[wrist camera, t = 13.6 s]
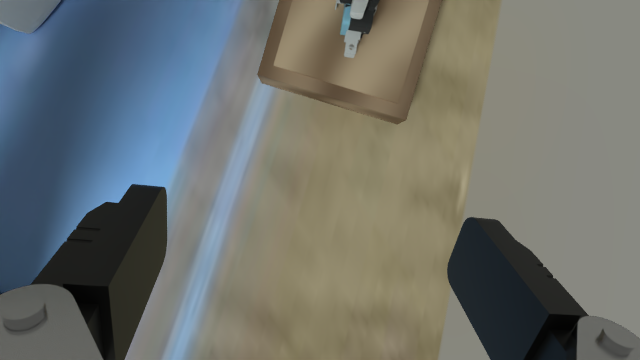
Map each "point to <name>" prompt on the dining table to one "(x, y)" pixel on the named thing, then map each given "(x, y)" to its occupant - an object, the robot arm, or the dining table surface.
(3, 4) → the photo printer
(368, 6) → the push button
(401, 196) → the dining table surface
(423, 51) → the tray
